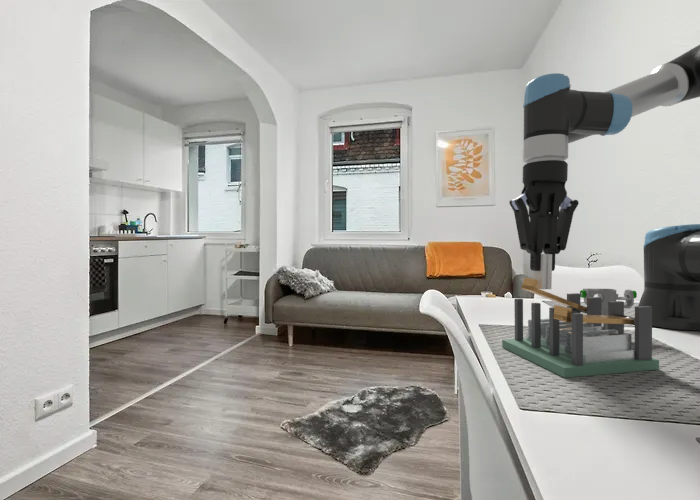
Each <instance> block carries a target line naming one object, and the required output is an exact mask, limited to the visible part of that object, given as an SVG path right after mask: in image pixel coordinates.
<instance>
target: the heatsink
mask: <svg viewBox="0 0 700 500" xmlns="http://www.w3.org/2000/svg"><path fill="white" fill-rule="evenodd" d="M525 338H526V340H529V341H531V342H532V333H531V319H528V320H527V331H526V332H525ZM541 346H543V347H546V348H548V349H549V318H541ZM559 353H560V354H563V355H565V356H568V357H570V358H572V322H564V321H561V320H559ZM625 360H635V349H632V334H631V333H630V332H624V333H619V334H618V330H615V329H611V330H605V327H603V325H602V326H594V324H592V323H583V363H585V364H588V363H601V362H613V361H625Z"/></svg>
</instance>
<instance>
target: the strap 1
mask: <svg viewBox="0 0 700 500" xmlns="http://www.w3.org/2000/svg"><path fill="white" fill-rule="evenodd" d="M537 283H538V280H536V279H533V278H529V277H524V279H523V282H522V285H521V287H520V289H522V290H523V291H527V292H530V293H532V294H534V295H537V296H539V297H542V298H545V299H548V300H550V301H552V302H555V303H557V304H559V305H560V304H561V306H564V307H567V306H568V307H570V308H573V309H574V310H575V311H578V312H580V313H581V314H583V313H584V314H587V306H584V305H581V304H580V305H579V304H576V303H574V302H571V301H569V300H567V298H566V299H565V298H563V297H560V296H558V295H555V294H553V293H550V292H547V291H545V290H544V289H538V288H536V286H537Z"/></svg>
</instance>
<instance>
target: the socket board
mask: <svg viewBox="0 0 700 500" xmlns="http://www.w3.org/2000/svg"><path fill="white" fill-rule="evenodd" d="M501 347H502V349H505V350H507V351H509V352H511V353H513V354H515V355H517V356H519V357H521V358H523V359H525V360H528V361H529V362H531V363H534V364H535V365H537V366H540V367H541V368H544V369H545V370H548V371H550V372H552V373H553V374H556V375H558V376H560V377H561V378H565V379H566V378H577V377H585V376H586V377H587V376H599V375H609V374H620V373H621V374H622V373H633V372H642V371H643V372H645V371H655V370H656V371H657V370H660V360H659V359H658V358H654V357H652V359H651V360H636V359H635V360H625V361H613V362H601V363H588V364H585V363H583V365H581V366H575V365H573V364H572V358H570V357H568V356H565V355H563V354H560V353H559V356H552V355H550V354H549V349H548V348H546V347H543V346H541V348H533V347H532V342H531V341H529V340H526V337H523V340H520V341H517V340H515V338H506V339H501Z"/></svg>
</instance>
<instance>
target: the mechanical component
mask: <svg viewBox="0 0 700 500" xmlns="http://www.w3.org/2000/svg"><path fill="white" fill-rule="evenodd" d="M579 294H580V299H581V298H583V303H584V304H585V305H586V306H587V298H588V297H595V295H597V297H601V298H602V315H607V316H608V302H610V301H624V309H630V308H632V307H633V306H634V302H635V299H637V297H638V296H637V295H638V294H637V291H636V290H632V289H625V290H624V292H623V296H619V294H618V293H617V289H613V288H582V289H581V290H579ZM602 326H603V327H605V330H608V324H607V323H602Z"/></svg>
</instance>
